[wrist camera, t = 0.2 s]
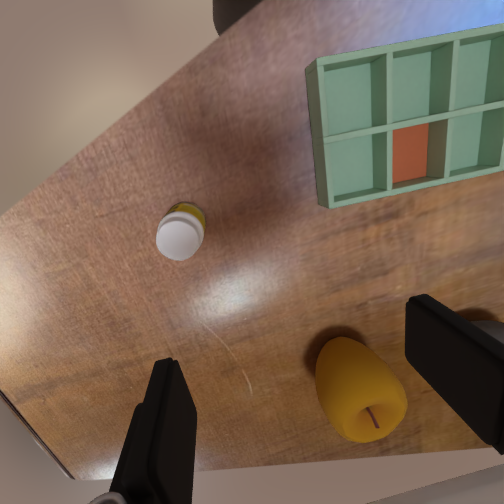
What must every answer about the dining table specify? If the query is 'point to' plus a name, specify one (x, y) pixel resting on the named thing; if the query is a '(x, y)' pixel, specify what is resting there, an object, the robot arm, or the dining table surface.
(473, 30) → the tray
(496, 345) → the robot arm
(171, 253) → the supplement bottle
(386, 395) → the apple
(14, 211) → the dining table surface
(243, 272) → the dining table surface
